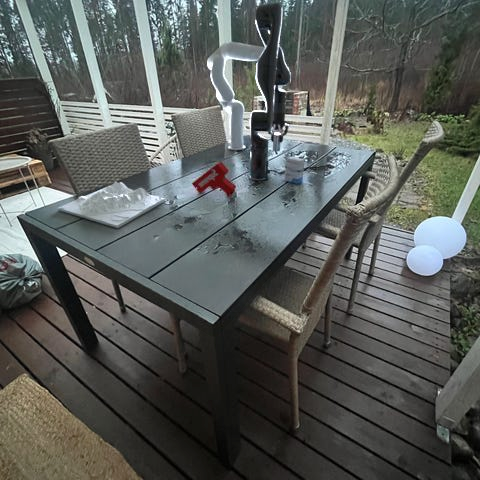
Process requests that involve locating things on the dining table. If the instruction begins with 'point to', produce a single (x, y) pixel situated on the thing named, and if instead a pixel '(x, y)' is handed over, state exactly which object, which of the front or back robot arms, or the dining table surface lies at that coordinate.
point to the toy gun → (215, 180)
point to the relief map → (113, 205)
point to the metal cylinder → (276, 142)
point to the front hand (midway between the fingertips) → (276, 141)
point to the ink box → (294, 170)
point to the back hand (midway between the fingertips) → (274, 99)
